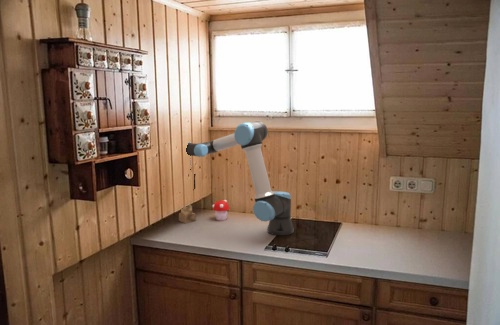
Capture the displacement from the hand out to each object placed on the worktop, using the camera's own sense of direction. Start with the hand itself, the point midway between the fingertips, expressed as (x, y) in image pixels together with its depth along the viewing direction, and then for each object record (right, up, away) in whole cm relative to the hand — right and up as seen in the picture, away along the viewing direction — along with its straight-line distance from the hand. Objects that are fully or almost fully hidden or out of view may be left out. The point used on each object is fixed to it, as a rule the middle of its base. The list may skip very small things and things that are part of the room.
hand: (186, 201), depth 267 cm
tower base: (0, -13, +2) cm, 13 cm away
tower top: (0, -8, +1) cm, 8 cm away
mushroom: (+21, -12, +6) cm, 25 cm away
